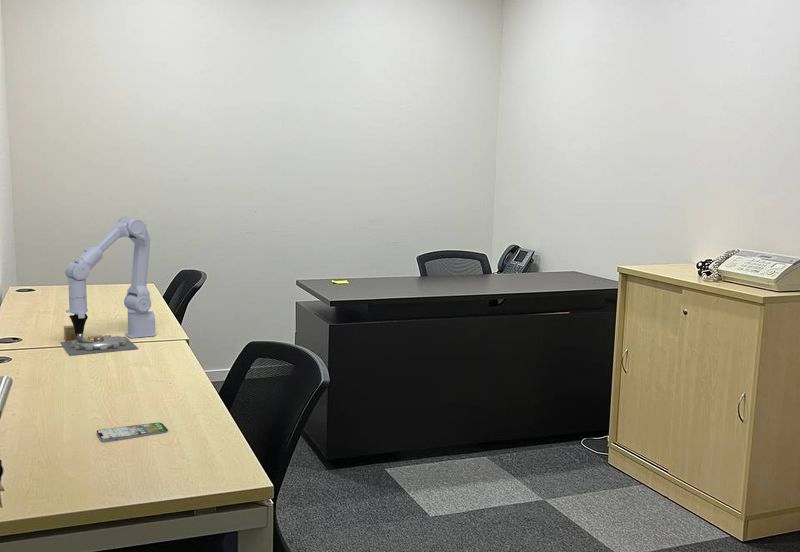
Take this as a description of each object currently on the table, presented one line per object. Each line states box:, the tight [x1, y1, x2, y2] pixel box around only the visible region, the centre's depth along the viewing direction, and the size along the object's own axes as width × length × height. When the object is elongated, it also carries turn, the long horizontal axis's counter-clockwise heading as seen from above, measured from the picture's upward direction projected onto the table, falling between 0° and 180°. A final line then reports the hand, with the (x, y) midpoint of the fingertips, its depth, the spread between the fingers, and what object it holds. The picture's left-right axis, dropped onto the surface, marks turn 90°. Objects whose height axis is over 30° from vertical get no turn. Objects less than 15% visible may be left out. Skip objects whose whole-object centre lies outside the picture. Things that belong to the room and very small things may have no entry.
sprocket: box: [70, 332, 127, 350], centre depth 266 cm, size 18×18×4 cm
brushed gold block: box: [63, 324, 77, 342], centre depth 275 cm, size 4×4×5 cm
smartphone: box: [96, 422, 169, 443], centre depth 179 cm, size 7×1×15 cm
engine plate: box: [60, 336, 139, 357], centre depth 267 cm, size 22×21×1 cm
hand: (79, 335), depth 268 cm, fingers closed
